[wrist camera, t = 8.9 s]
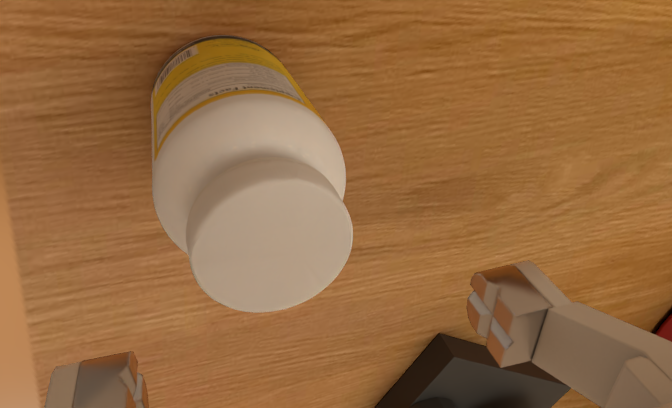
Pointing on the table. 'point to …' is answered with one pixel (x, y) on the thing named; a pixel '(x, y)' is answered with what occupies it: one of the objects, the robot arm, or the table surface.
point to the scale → (471, 380)
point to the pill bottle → (247, 176)
